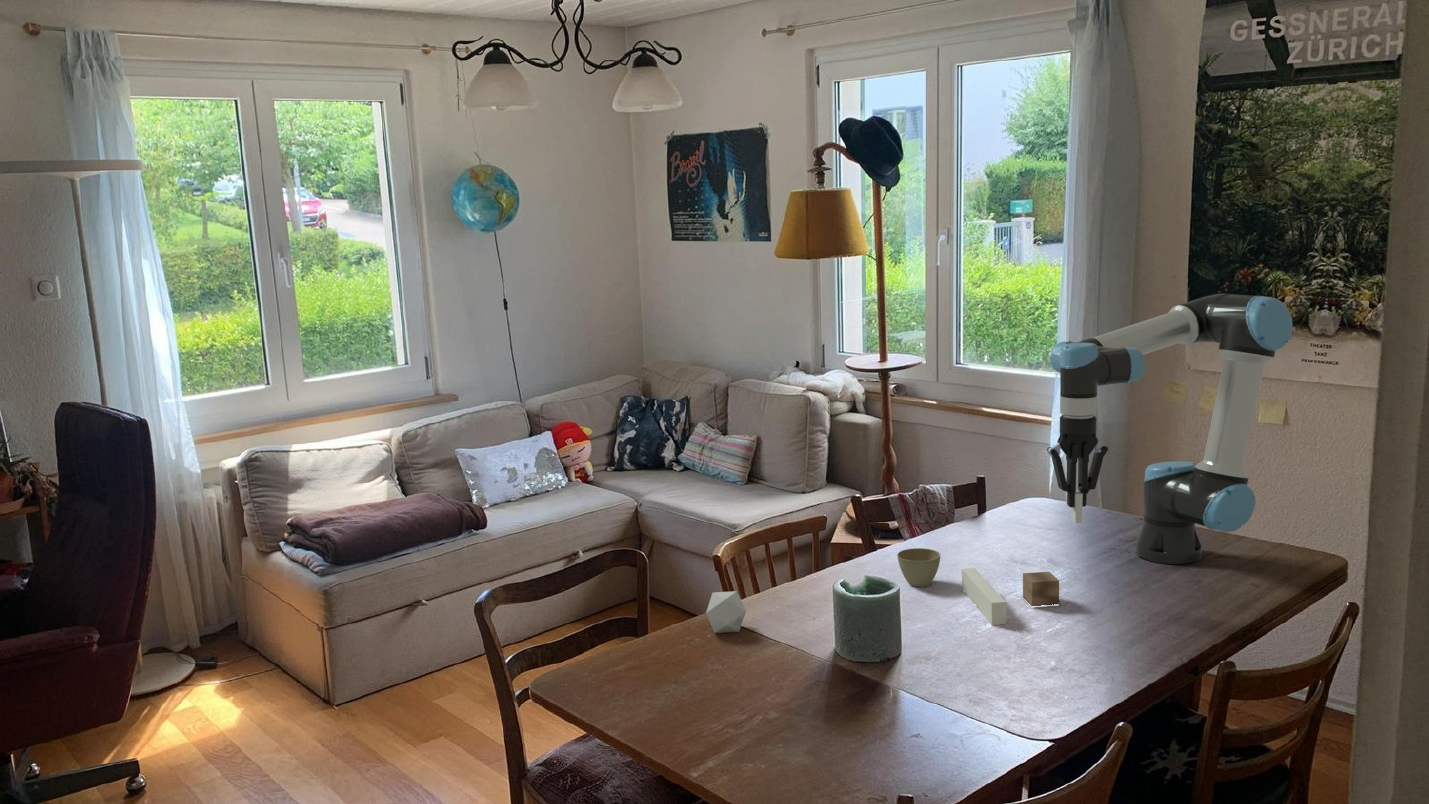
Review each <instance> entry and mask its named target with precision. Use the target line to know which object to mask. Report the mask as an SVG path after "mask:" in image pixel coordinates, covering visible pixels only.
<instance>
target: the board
mask: <svg viewBox="0 0 1429 804" xmlns="http://www.w3.org/2000/svg"><path fill="white" fill-rule="evenodd" d="M962 589H963V590H964V591H965V593H966V594H967V595H968V596H967V595H966V594H965V593H964V594H965V595H966V596H967V597H968V599H969V598H970V599H971V600H972V601H971V600H970V599H969V600H970V601H971V602H972V604H973V605H974V604H976V606H977V607H978V608H979V609H978V608H977V607H976V606H975V607H976V608H977V609H978V611H979V610H980V611H981V612H982V613H983V614H982V613H981V612H980V611H979V612H980V613H981V614H982V616H983V617H984V616H985V617H986V618H987V619H986V618H985V617H984V618H985V619H986V621H989V622H988V623H989V624H990V626H1001V625H1000V624H1005V625H1006V624H1007V620H1006V619H1007V618H1006V617H1007V611H1006V608H1007V606H1006V604H1007V602H1006V600H1005V599H1004V598H1003V597H1002V596H1001V595H1000V594H999V593H998V592H997V590H996V589H995V588H994V587H993V586H992V584H991V583H989V581H987V579H985V578H984V576H983V575H982V574H981V573H980V572H979V571H978V570H977V569H976V568H974V567H971V568H970V567H969V568H961V590H962ZM963 590H962V591H963ZM964 591H963V592H964ZM998 624H999V625H998Z"/></svg>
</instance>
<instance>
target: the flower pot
mask: <svg viewBox="0 0 1429 804" xmlns="http://www.w3.org/2000/svg"><path fill="white" fill-rule="evenodd" d="M896 555H897V556H896V557H897V561H898V562H897V563H898V565H899V568H900V570H901V574H902V575H903V577H904V579H905V581H906V582H907V583H908V584H909V586H911V585H913V586H912V587H915V586H920V587H919V588H923V587H922V586H924V587H927V586H930V585H931V584H932V582H933V580H934V579H935V577H936V574H937V572H938V569H939V566H940V561H941V552H940V551H937V550H935V549H930V548H924V547H923V548H922V547H915V548H906V549H903V550H900V551H899V552H897V554H896ZM929 584H930V585H929Z"/></svg>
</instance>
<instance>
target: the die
mask: <svg viewBox="0 0 1429 804" xmlns="http://www.w3.org/2000/svg"><path fill="white" fill-rule="evenodd" d="M708 602H709V603H708V606H707V608H706V611H705V615H706V617H707V619H708V621H709V624H710V626H711V628H712V630H713V632H714V634H720V633H739V632H740V630H741V627H742V623H743V621H744V619H745V615H746V612H747V610H746V608H745V605H744V604H743V601H742V598H741V596H740V595H739V593H738V591H737V590H736V591H735V590H733V591H717V592H716V591H715V592H712V593H711V597H710V600H709V601H708Z"/></svg>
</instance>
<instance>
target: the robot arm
mask: <svg viewBox="0 0 1429 804" xmlns="http://www.w3.org/2000/svg"><path fill="white" fill-rule="evenodd" d="M1292 332H1293V319H1292V314H1291V312H1290V311H1289V310H1288V307H1287V306H1286V304H1285V303H1284V302H1283V301H1281V300H1279V299H1277V298H1274V297H1269V296H1264V295H1249V294H1248V295H1247V294H1231V293H1217V294H1210V295H1206V296H1203V297H1199V298H1197V299H1194V300H1190V301H1187V302H1184V303H1181V304H1179V305H1176V306H1173V307H1171V308H1170V310H1169V312H1167V313H1164V314H1161V315H1158V316H1155V317H1152V318H1149V319H1146V320H1145V319H1144V320H1143V321H1140V322H1136V323H1134V324H1130V325H1127V326H1125V327H1121V328H1118V329H1115V330H1112V331H1109V332H1106V333H1102V334H1100V335H1097V336H1092V337H1089V338H1086V339H1083V340H1080V341H1076V342H1074V341H1072V340H1069V341H1061V342H1058V343H1057V344H1055V345H1054V347H1052V350H1051V353H1050V356H1049V360H1050V365H1051V367H1052V369H1054V371H1056V372H1057V373H1058V374H1059V379H1060V381H1059V383H1060V384H1059V387H1060V391H1059V392H1060V394H1059V413H1060V414H1061V416H1059V437H1058V439H1057V442H1056V444H1055V445H1053V446H1052V447H1051V446H1049V447H1047V448H1046V451H1047V453H1048V454H1049V456H1050V457H1051V462H1052V465H1053V469H1054V473H1055V478H1056V482H1057V487H1058V489H1060V490H1062V491H1064V492H1066V504H1067V506H1068V507H1069V508H1070V521H1072V522H1073V523H1075V524H1079V523H1080V524H1081V523H1083V507H1084V508H1085V507H1086V506H1087V498H1088V497H1087V495H1088V494H1089V492H1090V491H1092V490H1093V491H1094V490H1095V489H1096V487H1097V484H1098V479H1099V475H1100V472H1101V469H1102V464H1103V461H1104V457H1105V455H1106V454H1107V452H1108V451H1109V447H1108V446H1107V445H1106V444H1102V443H1100V442H1099V440H1098V437H1097V417H1096V416H1095V415H1096V414H1098V413H1097V412H1098V408H1097V407H1098V406H1097V405H1098V404H1097V403H1098V387H1100V386H1106V385H1107V386H1108V385H1117V384H1118V385H1119V384H1128V383H1132V382H1136V381H1138V380H1140V379H1141V378H1142V377H1143V375H1144V374H1145V370H1146V359H1145V357H1144V355H1147V354H1150V353H1153V352H1156V351H1160V350H1162V349H1165V348H1169V347H1171V346H1175V345H1177V344H1180V345H1183V346H1184V345H1186V346H1187V345H1192V344H1195V343H1198V342H1199V343H1201V342H1203V343H1217V344H1219V345H1218V352H1219V353H1220V355H1221V356H1222V358H1223V363H1222V367H1221V368H1222V369H1221V373H1220V377H1219V381H1218V382H1219V383H1218V387H1217V392H1216V397H1215V400H1214V405H1213V411H1212V417H1211V422H1210V426H1209V430H1208V435H1207V441H1206V445H1205V450H1204V455H1203V460H1201V461H1200V462H1198V463H1197V464H1196V463H1195V462H1193V461H1181V460H1180V461H1174V460H1173V461H1161V462H1156V463H1152V464H1149V465H1148V466H1147V467H1146V469H1145V471H1144V472H1145V473H1144V479H1143V524H1142V526H1141V529H1140V532H1139V534H1138V537H1137V540H1136V542H1135V554H1136V553H1137V554H1136V555H1137V556H1138V555H1139V556H1140V558H1141V557H1142V558H1141V559H1143V558H1144V560H1146V559H1147V560H1146V561H1149V562H1154V563H1158V564H1166V565H1168V564H1169V565H1184V564H1192V563H1196V562H1199V561H1200V560H1202V557H1203V546H1202V543H1201V541H1200V537H1199V534H1198V531H1197V527H1196V524H1197V525H1199V526H1200V525H1201V526H1202V527H1206V528H1207V529H1210V530H1215V531H1220V532H1223V533H1230V532H1235V531H1237V530H1239V529H1240V528H1242V526H1243V525H1246V524H1247V523H1248V521H1249V520H1250V519H1251V517H1252V515H1253V513H1254V511H1255V507H1256V495H1254V494H1255V492H1254V491H1253V489H1252V488H1251V487H1250V486H1249V485H1248V483H1249V479H1250V478H1249V477H1250V476H1249V474H1248V473H1247V471H1246V470H1245V468H1244V465H1245V461H1246V457H1247V452H1248V447H1249V443H1250V438H1251V437H1250V436H1251V432H1252V427H1253V423H1254V419H1255V413H1256V408H1257V404H1258V399H1259V395H1260V389H1261V385H1262V381H1263V375H1264V371H1265V366H1266V365H1267V364H1268V363H1269V362H1272V361H1273V360H1274V359H1275V354H1276V351H1278V350H1280V349H1282V348H1284V347H1286V344H1287V343H1289V340H1290V339H1291V337H1292ZM1061 451H1062V452H1063V453H1064V455H1065V460H1066V474H1065V471H1064V470H1065V469H1064V466H1063V461H1062V457H1061ZM1093 451H1094V453H1093V455H1092V459H1091V463H1090V465H1089V462H1090V454H1092V452H1093ZM1089 466H1090V467H1089ZM1139 556H1138V557H1139Z"/></svg>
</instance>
